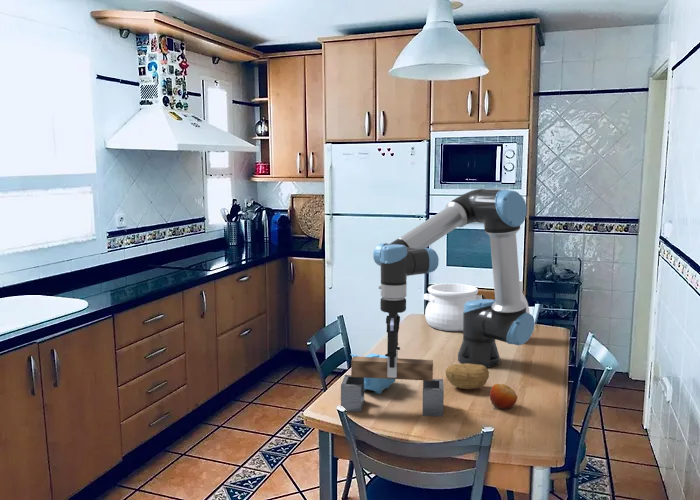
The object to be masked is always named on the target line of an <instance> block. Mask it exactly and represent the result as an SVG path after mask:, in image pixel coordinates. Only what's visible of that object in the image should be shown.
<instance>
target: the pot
mask: <svg viewBox="0 0 700 500" xmlns="http://www.w3.org/2000/svg"><path fill="white" fill-rule="evenodd" d="M427 291H428V293H424V294H423V300H425V301H428V302H427V305H426V308H425V310H424V314H425V315H424V316H425V321H426V322H427V324H428V325H429V327H432V328H433V329H436V330H438V329H439V331H443V330H444V332H463V312H464V305H465V303H466V302H468V301H471V300H479V299H483V296H482V295H481V294H479V289H478V288H477V286H474V285H470V284H465V283H452V282H451V283H450V282H449V283H448V282H447V283H444V282H443V283H437V284H432V285H429V286H428V287H427Z"/></svg>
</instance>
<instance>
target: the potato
mask: <svg viewBox="0 0 700 500" xmlns="http://www.w3.org/2000/svg"><path fill="white" fill-rule="evenodd" d="M444 373H445V377H446V380H447V381H448V382H449V383H450V384H451V385H452V386H454V387H456V388H458V389H463V390H474V389H480V388H482V387H484V386H485V385H486V384H487V381H488V379H489V377H490V371H489V369H488V367H485V366H483V365H477V364H469V363H466V364H462V363H457V364H452V365H449V366H447V368H446V369H445V371H444Z"/></svg>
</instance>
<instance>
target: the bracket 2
mask: <svg viewBox="0 0 700 500" xmlns="http://www.w3.org/2000/svg"><path fill="white" fill-rule="evenodd" d="M444 388H445V387H444V379H443V378H433V381H426V380H422V417H423V416H424V417H442V418H443V417H444V403H445V402H444V397H445V395H444V394H445V389H444Z"/></svg>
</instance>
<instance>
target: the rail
mask: <svg viewBox="0 0 700 500" xmlns="http://www.w3.org/2000/svg"><path fill="white" fill-rule="evenodd" d="M387 362H388V358H377V357H365V356H358V357H355V356H352V358H351V361H350V363H351V364H350V365H351V366H350V367H351V368H350V369H351V371H350V372H351V373H350V375H351V377H365V378H385V379H395V380H404V381H405V380H406V381H407V380H408V381H409V380H410V381H411V380H412V381H423V380H426V381H433V379H434V377H433V376H434V375H433V374H434V359H418V358H399V357H398V358H397V378H390V377H387Z"/></svg>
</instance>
